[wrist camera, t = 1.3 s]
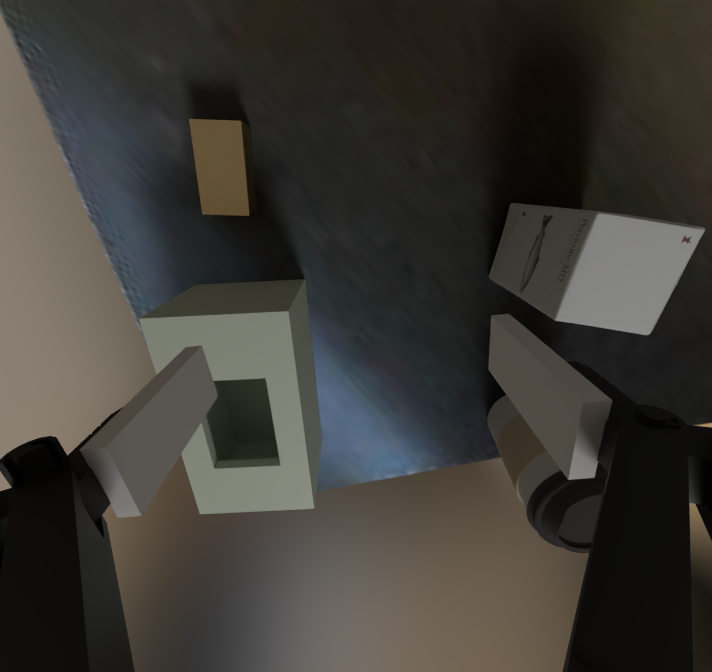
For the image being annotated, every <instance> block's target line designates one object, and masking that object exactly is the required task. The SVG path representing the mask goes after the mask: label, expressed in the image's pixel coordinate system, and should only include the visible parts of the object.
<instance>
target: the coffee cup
mask: <svg viewBox="0 0 712 672" xmlns="http://www.w3.org/2000/svg"><path fill="white" fill-rule="evenodd" d="M487 422H488V426H489V429H490V431H491V433H492V435H493V438H494V440H495V442H496V444H497V446H498V450H499V453H500V455H501V458H502V460H503V462H504V465H505V467H506V469H507V471H508V474H509V476H510V478H511V480H512V483H513V485H514V487H515V490H516V492H517V494H518V496H519V498H520V500H521V501H522V503H524V506H525V508H526V510H527V518H528V520H529V522H530V524H531V525H532V527H533V528H534V529H535V530H536V531H537V532H538V533H539V535H540V536H541V537H542V538H543V539H544V540H545V541H547V542H549V543H550V544H553V545H555V546H558V547H562V548H565V549H567V550H569V551H573V552H578V553H589V552H590V548H591V543H592V539H593V535H594V530H595V526H596V521H597V517H598V512H599V508H600V503H601V497H602V493H603V489H604V485H605V481H606V477H607V473H608V472H607V471H606V470H605V469H604V468H603V467H602V465H601V464H600V463H599V462H598V464H597V469H596V473H595V477H594V478H584V479H572V480H568V479H567V477H566V476H565V475H564V473H563V472H562V471H561V469H560V468H559V466H558V465H557V464H556V462H555V461H554V460H553V458H552V457H551V455H550V454H549V453H548V451H547V450H546V448H545V447H544V446H543V444H542V443H541V442H540V440H539V439H538V437H537V436H536V435H535V433H534V432H533V431H532V429H531V428H530V426H529V425H528V424H527V422H526V421H525V419H524V418H523V417H522V415H521V414H520V413H519V411H518V410H517V408H516V407H515V406H514V404H513V403H512V402H511V400H510V399H509V397H508V396H507V395H505V396H503V397H502V398H500V399H499V400H498V401H496V402H495V403H494V405H493V406H492V407H491V409H490V411H489V413H488V418H487Z"/></svg>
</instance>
